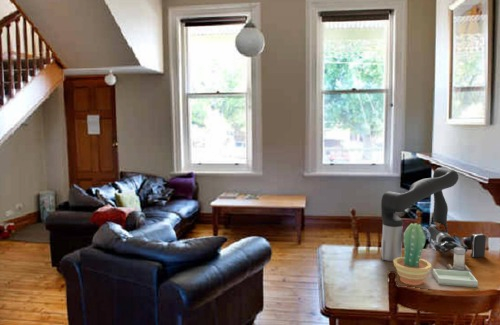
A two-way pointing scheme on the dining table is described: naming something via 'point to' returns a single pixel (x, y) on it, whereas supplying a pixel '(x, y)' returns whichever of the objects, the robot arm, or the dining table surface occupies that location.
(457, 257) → the fuse
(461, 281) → the parts tray
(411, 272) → the potted cactus
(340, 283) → the dining table surface
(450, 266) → the grey u-shaped bracket
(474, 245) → the dark grey block
